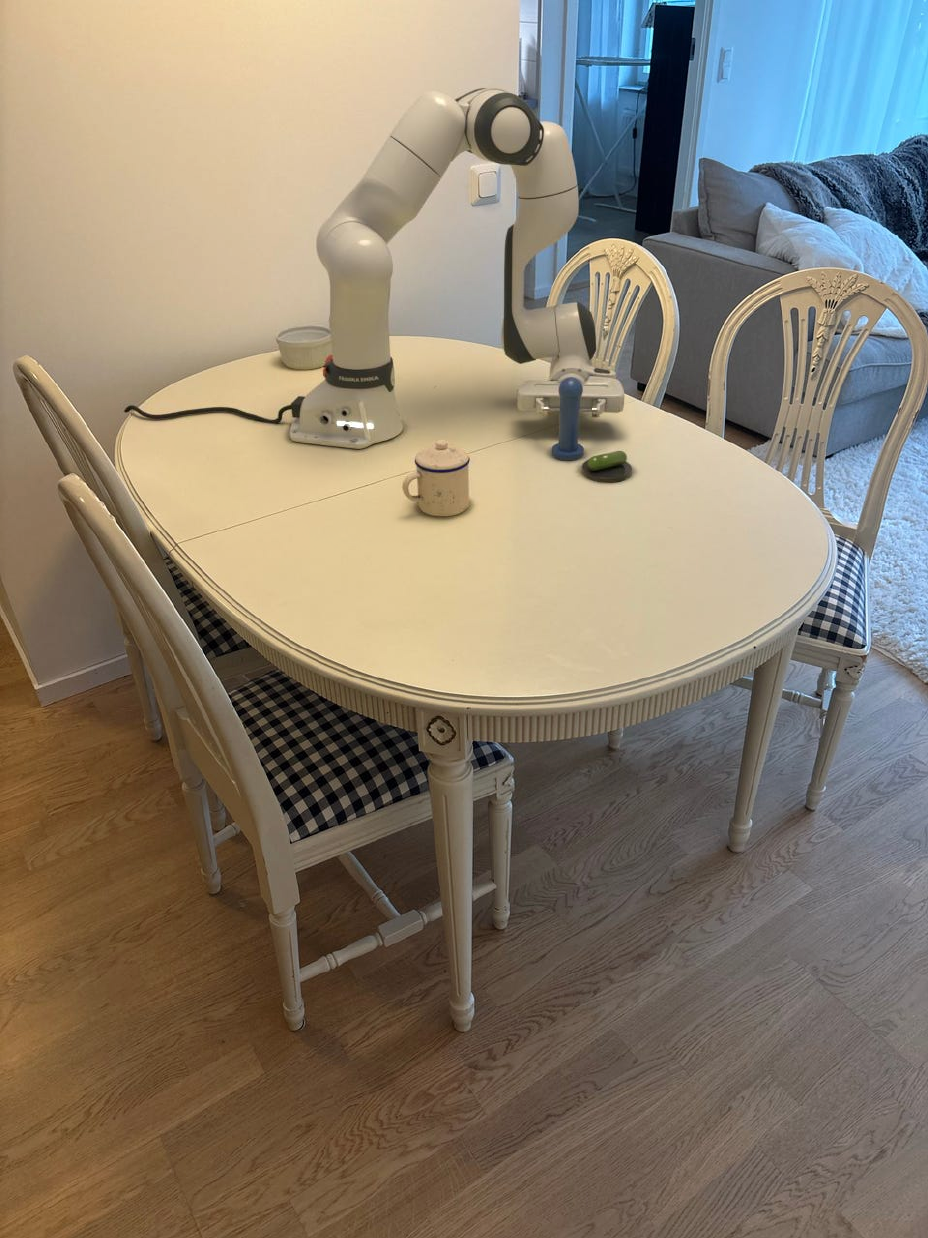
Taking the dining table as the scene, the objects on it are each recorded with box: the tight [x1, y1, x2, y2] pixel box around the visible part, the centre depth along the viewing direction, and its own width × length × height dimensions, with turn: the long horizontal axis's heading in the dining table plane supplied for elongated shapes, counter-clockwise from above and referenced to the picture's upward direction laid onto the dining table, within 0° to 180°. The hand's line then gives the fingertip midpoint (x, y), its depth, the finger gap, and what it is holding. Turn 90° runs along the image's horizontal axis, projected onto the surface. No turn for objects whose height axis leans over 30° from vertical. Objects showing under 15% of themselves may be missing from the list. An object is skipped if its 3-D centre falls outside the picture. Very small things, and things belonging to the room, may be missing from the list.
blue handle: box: [551, 377, 585, 462], centre depth 167 cm, size 6×6×15 cm
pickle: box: [581, 450, 633, 483], centre depth 164 cm, size 9×9×3 cm
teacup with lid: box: [402, 439, 471, 517], centre depth 151 cm, size 12×9×12 cm
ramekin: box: [275, 324, 332, 371], centre depth 215 cm, size 13×13×7 cm
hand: (570, 412), depth 168 cm, fingers open, 8 cm apart
